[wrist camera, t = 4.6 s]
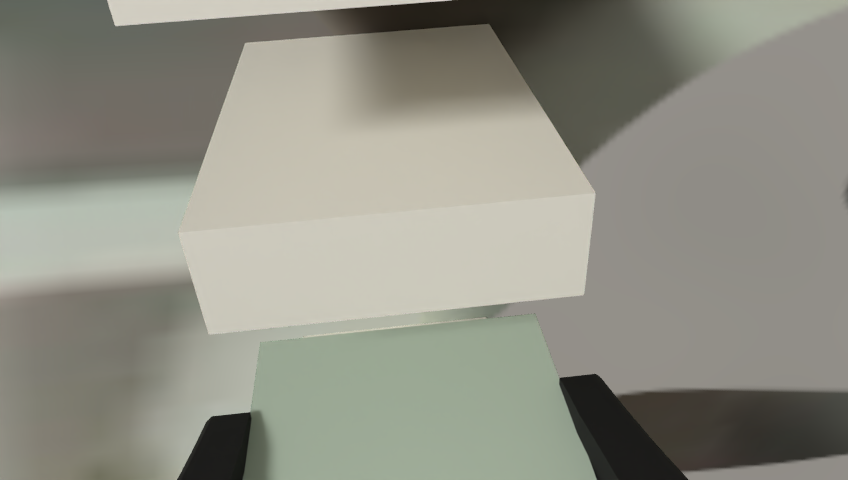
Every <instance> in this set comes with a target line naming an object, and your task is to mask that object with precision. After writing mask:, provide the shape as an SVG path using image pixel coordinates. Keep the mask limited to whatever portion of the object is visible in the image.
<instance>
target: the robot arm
mask: <svg viewBox="0 0 848 480" xmlns="http://www.w3.org/2000/svg"><path fill="white" fill-rule="evenodd" d="M559 385H560V388H561V391H562V393H563V396H564V399H565V402H566V404H567V407H568V410H569V413H570V415H571V418H572V421H573V423H574V426H575V429H576V432H577V434H578V436H579V438H580V440H581V442H582V444H583V447H584V449H585V451H586V453H587V455H588V457H589V460H590V462H591V465H592V468H593V471H594V473H595V476H596V479H597V480H688V479H687V478H686V477H685V475H684V474H683V473H682V472H681V471H680V470H679V469H678V468H677V467H676V466H675V465H674V464H673V463H672V461H671V460H670V459H669V458H668V457H667V456H666V455H665V454H664V453H663V452H662V450H661V449H660V448H659V447H658V446H657V445H656V444H655V443H654V441H653V440H652V439H651V438H650V437H649V436H648V434H647V433H646V432H645V431H644V430H643V429H642V427H641V426H640V425H639V424H638V423H637V422H636V420H635V419H634V418H633V417H632V416H631V414H630V413H629V412H628V411H627V410H626V408H625V407H624V406H623V405H622V404H621V402H620V401H619V400H618V399H617V397H616V396H615V395H614V394H613V392H612V391H611V390H610V389H609V387H608V386H607V385H606V384H605V382H604V381H603V380H602V379H601V378H600V377H599V376H598V375H596V374H592V375H582V376H573V377H564V378H560V379H559ZM251 420H252V417H251V414H250V412H249V413H240V414H231V415H222V416H213V417H211V418H210V419H209V420H208V421H207V422H206V424H205V426H204V428H203V430H202V432H201V434H200V436H199V438H198V441H197V443H196V445H195V447H194V449H193V451H192V453H191V454H190V456H189V458H188V460H187V462H186V464H185V466H184V468H183V470H182V472H181V474H180V476H179V477H178V479H177V480H243V476H244V471H245V464H246V456H247V449H248V442H249V434H250V427H251Z"/></svg>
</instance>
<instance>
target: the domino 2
mask: <svg viewBox="0 0 848 480" xmlns="http://www.w3.org/2000/svg"><path fill="white" fill-rule="evenodd" d="M250 414H251V417H252V420H251V427H250V434H249V442H248V449H247V456H246V464H245V471H244V476H243V480H597V479H596V476H595V473H594V471H593V468H592V465H591V462H590V460H589V457H588V455H587V453H586V451H585V449H584V447H583V444H582V442H581V440H580V438H579V436H578V434H577V432H576V429H575V426H574V423H573V421H572V418H571V415H570V413H569V410H568V407H567V404H566V402H565V399H564V396H563V393H562V391H561V388H560V385H559V376H558V373H557V371H556V368H555V365H554V363H553V360H552V357H551V355H550V352H549V349H548V346H547V344H546V341H545V339H544V336H543V333H542V330H541V328H540V325H539V322H538V320H537V317H536V314H527V315H518V316H508V317H498V318H489V319H479V320H470V321H460V322H451V323H441V324H431V325H422V326H412V327H403V328H393V329H384V330H374V331H364V332H355V333H345V334H336V335H326V336H317V337H307V338H298V339H288V340H278V341H269V342H260V347H259V354H258V361H257V368H256V375H255V382H254V390H253V397H252V404H251V411H250Z"/></svg>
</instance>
